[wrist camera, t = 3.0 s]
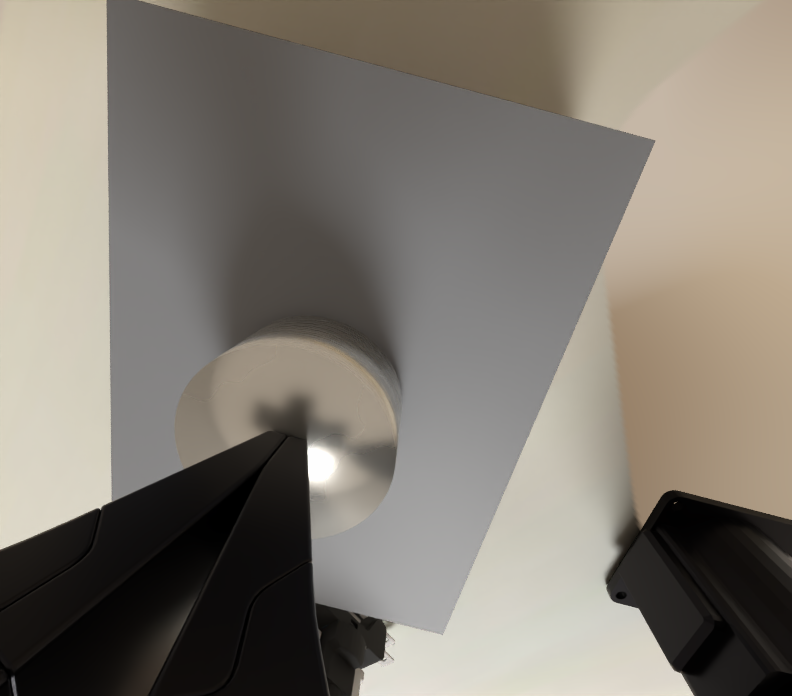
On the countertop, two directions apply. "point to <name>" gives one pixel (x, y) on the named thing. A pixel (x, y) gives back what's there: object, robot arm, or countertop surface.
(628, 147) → the panel
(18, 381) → the countertop surface
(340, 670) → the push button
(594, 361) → the countertop surface
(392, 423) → the knob
